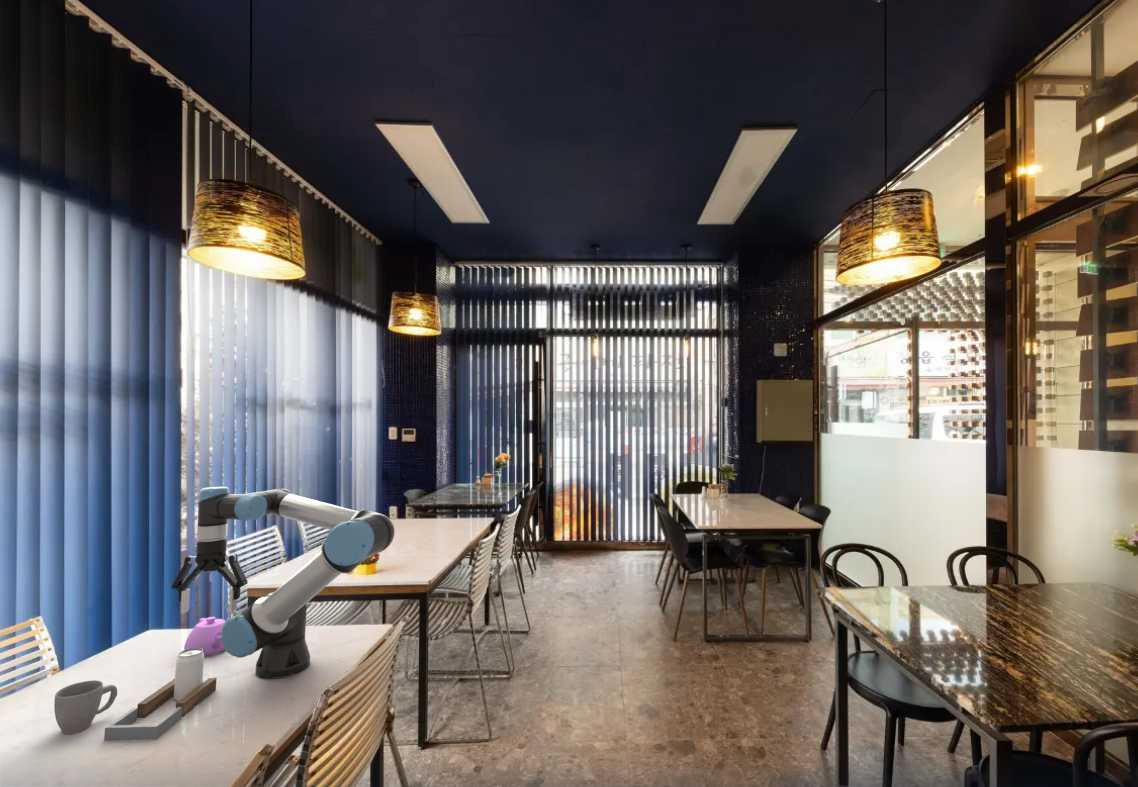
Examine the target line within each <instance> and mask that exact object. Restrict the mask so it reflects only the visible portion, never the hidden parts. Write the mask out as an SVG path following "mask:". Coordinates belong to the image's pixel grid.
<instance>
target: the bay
mask: <svg viewBox="0 0 1138 787" xmlns="http://www.w3.org/2000/svg"><path fill="white" fill-rule="evenodd" d="M137 710H138V708H137V707H133V708H132V709H130V710H129V711H127V712H126V713H124V714H123V715H122V716H120V717H118V718H117V719H116V720H114V721H113V722H111V723H110V724H108V725H107V726H105V727H104V736H103V742H110V741H111V742H112V741H150V740H151V741H152V740H153V741H154V740H158V739H159V738H160V737H162V736H163V735H165V733H167V731H170V729H171V728H172V727H174V726H175V725H176V724H177V723H178V722H180V721H181V720H182V719H183V717H182V707H178V708H176V707H175V709H174V710H172V711H171V712H170V713H168V714H167V715H166V716H165V717H164V718H162V719H160V720H159V721H158V722H157V723H154V724H153V723H151V724H134V723H135V722H136V721H137V720H138V718H137Z"/></svg>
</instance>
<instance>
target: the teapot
mask: <svg viewBox="0 0 1138 787" xmlns="http://www.w3.org/2000/svg"><path fill="white" fill-rule="evenodd" d="M226 621H227V620H225V619H222V618H217V617H216V616H209V617H201V618H200V619H199V621H198V623H197V624H195V626H194V627H193V628H192V630H191V631H190V633H189V634H188V636H187V638H186V640H185V643H184V646H183V648H184V649H183V651H184V650H187V649H192V648H201V649H203V651H202V652H203V653H204V658H205V657H210V656H213V655H218V654H220V653H222V652H225V651H226V649H225V648H224V646H223V643H222V639H221V636H222V633H221V631H222V628H223V625H224V624H225V622H226Z"/></svg>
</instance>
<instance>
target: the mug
mask: <svg viewBox="0 0 1138 787" xmlns="http://www.w3.org/2000/svg"><path fill="white" fill-rule="evenodd" d="M109 692H110V695H109V697H108V700H107V702H106V703H105V704H104V706H102V707H100V706H101V705H100V704H101V701H102V696H103V695H105V694H107V693H109ZM117 696H118V688H117V686H116V685H114V684H108V685H105V686H104V684H103V682H102V681H100V680H86V681H85V680H83V681H81V682H75V683H72V684H70V685H67V686H65V687H62V688H61V689H59V690H58V691H56V693H55V695H54V702H53V704H54V707H53V708H54V709H53V710H54V716H55V722H56V724H57V726H58V728H59V729H60V731H61V734H62V735H65V736H66V735H74V734H79V733H81V732H84V731H86V730H88V729H89V728H90V727H91V726H92V723H93V722H94V718H95V717H96V716H97V715H100V714H101V713H103V712H105V711H107V710H108V709H110V707H112V705H113V704H114V702H115V700H116V699H117Z"/></svg>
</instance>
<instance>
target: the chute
mask: <svg viewBox="0 0 1138 787" xmlns="http://www.w3.org/2000/svg"><path fill="white" fill-rule="evenodd" d="M174 684H175V678H173V679H172V680H170V681H169V682H167V683H166V684H165V685H163V686H161V688H158V689H157V690H155V691H154V692H153V693H151V694H150V695H148V697H146V698H144V699H143V700H141V701H140V702H138V703H137V707H136V708H138V710H137V719H144V718H147V717H148V716H150V715H151V714H152V713H154V712H155V711H156V710H158V709H159V708H161V707H162V706H163V705H164V704H166V703H167V702H168V701H170V700H171V699H174ZM216 691H217V677H208V678H207V679H206V680H205V681H203V683H202V684H201V685H199V686H198V687H197V688H195V689H194V690H193V691H191V692H190V693H189V694H187V695H186V696H185V697H183V698H182V699H181V700H180V701H176V703H175V709H176V708H178V707H182V718H184V717H185V716H186V715H187V714H189V713H190V712H191V711H193V709H195V708H196V707H197V706H199V705H200V704H202V702H203V701H205V700H206V699H207V698H208V697H210V696H211V695H212V694H213V693H215V692H216Z"/></svg>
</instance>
